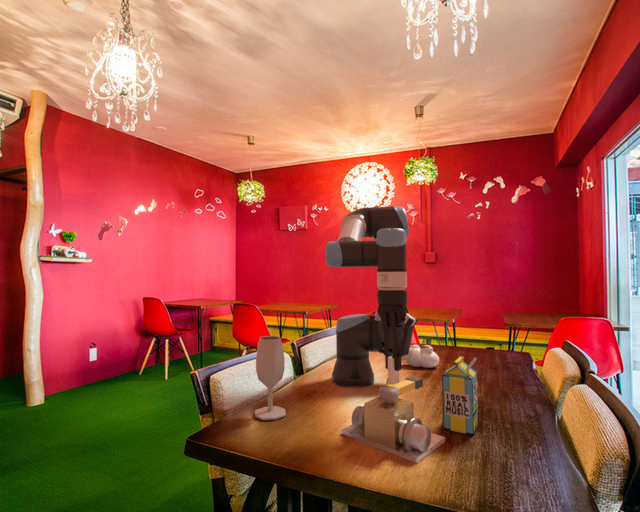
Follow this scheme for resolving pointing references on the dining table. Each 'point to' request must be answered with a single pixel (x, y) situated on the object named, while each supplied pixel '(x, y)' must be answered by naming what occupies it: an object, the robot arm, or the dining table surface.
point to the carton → (460, 398)
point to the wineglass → (270, 373)
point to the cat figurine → (421, 356)
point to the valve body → (392, 429)
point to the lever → (400, 388)
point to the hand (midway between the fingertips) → (393, 382)
